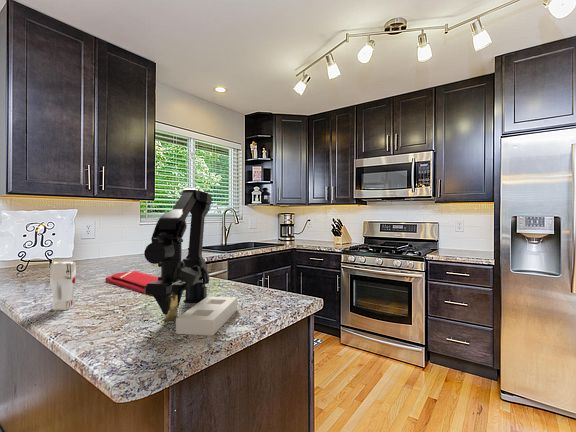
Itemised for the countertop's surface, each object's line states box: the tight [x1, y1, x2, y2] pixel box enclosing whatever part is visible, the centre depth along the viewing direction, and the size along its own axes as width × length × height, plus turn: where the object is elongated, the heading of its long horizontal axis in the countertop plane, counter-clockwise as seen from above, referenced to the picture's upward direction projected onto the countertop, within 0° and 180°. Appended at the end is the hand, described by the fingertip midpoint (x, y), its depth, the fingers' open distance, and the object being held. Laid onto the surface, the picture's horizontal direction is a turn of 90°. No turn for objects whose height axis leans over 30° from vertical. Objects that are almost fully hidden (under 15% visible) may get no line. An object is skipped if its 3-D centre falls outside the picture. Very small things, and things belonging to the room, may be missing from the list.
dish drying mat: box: [105, 270, 186, 296], centre depth 138 cm, size 16×41×4 cm, turn 53°
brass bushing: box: [164, 294, 179, 322], centre depth 94 cm, size 4×4×7 cm
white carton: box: [49, 260, 77, 312], centre depth 103 cm, size 7×7×15 cm
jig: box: [175, 296, 238, 337], centre depth 92 cm, size 10×22×4 cm, turn 173°
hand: (171, 311), depth 94 cm, fingers open, 6 cm apart
